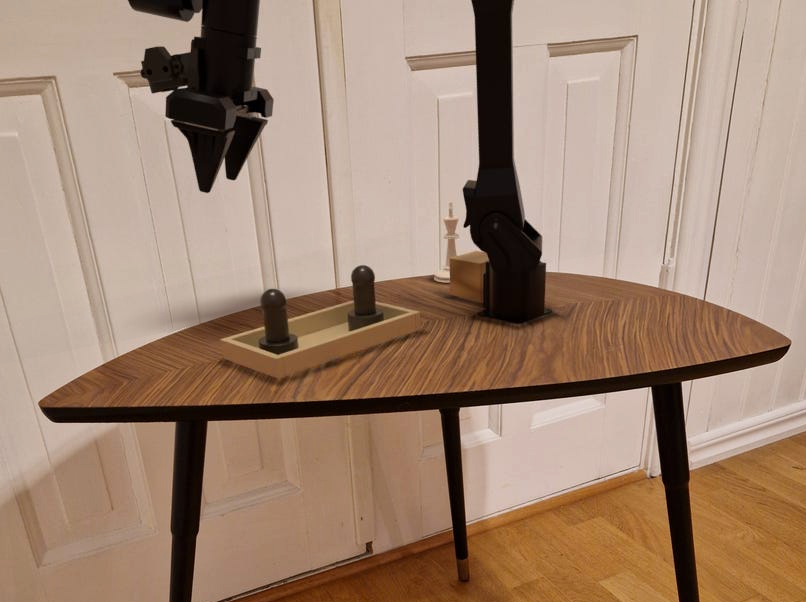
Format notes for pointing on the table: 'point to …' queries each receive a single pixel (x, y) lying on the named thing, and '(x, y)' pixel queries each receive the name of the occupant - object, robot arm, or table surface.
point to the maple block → (468, 275)
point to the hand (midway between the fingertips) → (218, 185)
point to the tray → (319, 339)
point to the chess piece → (448, 246)
